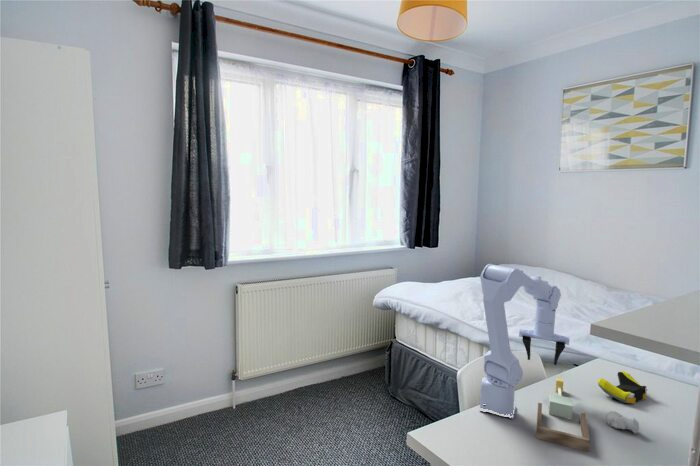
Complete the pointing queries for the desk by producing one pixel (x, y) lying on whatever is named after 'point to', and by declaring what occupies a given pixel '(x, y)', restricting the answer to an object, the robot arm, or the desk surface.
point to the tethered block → (560, 402)
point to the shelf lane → (564, 434)
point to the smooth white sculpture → (622, 422)
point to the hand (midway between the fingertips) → (541, 361)
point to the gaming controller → (624, 388)
